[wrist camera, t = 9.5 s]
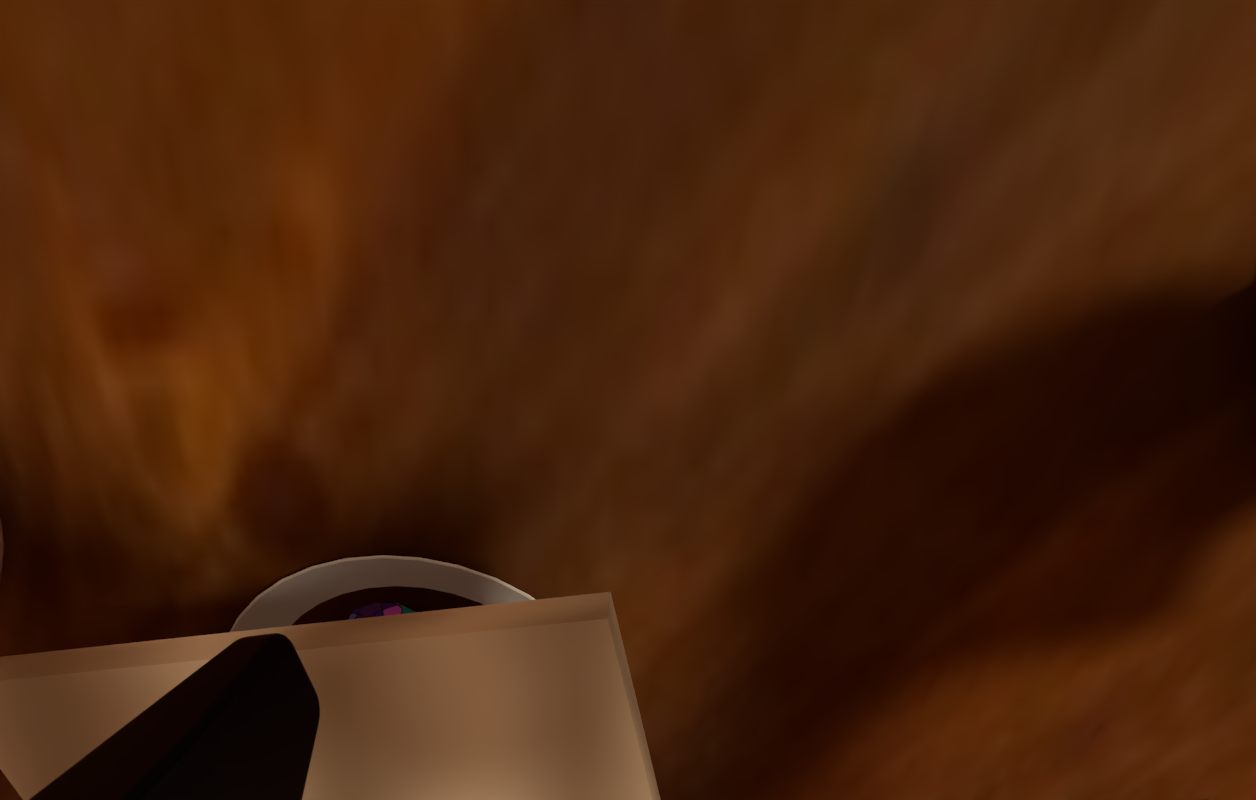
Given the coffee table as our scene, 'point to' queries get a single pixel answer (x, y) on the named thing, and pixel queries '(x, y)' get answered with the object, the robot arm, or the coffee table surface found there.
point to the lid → (383, 703)
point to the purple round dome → (369, 572)
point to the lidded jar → (1, 548)
